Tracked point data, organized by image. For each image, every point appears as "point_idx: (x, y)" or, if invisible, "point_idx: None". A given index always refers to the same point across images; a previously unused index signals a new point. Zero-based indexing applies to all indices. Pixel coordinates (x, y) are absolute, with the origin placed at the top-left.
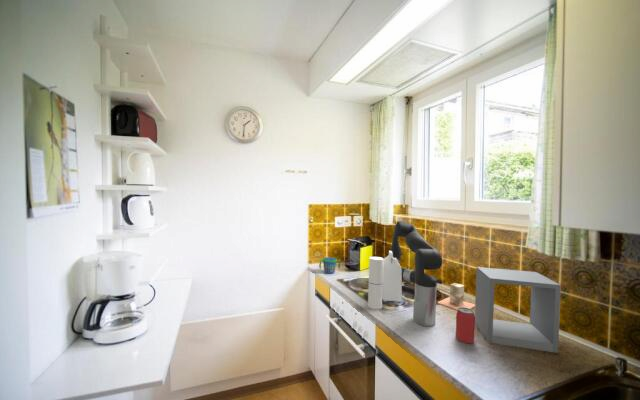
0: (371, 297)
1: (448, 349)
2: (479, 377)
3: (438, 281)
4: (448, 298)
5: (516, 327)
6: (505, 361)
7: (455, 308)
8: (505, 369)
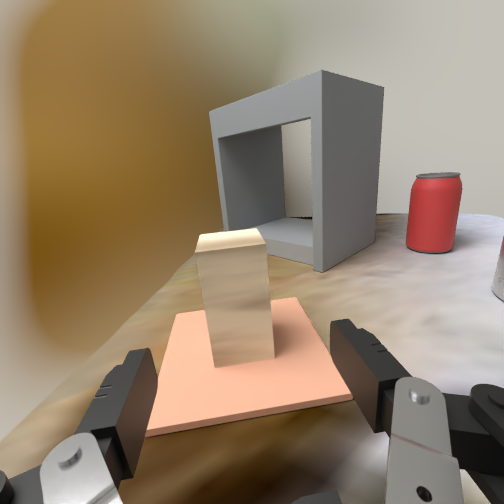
0: None
1: (497, 240)
2: (466, 220)
3: (142, 398)
4: (200, 406)
5: (281, 230)
6: (389, 227)
7: (306, 317)
8: (406, 223)
